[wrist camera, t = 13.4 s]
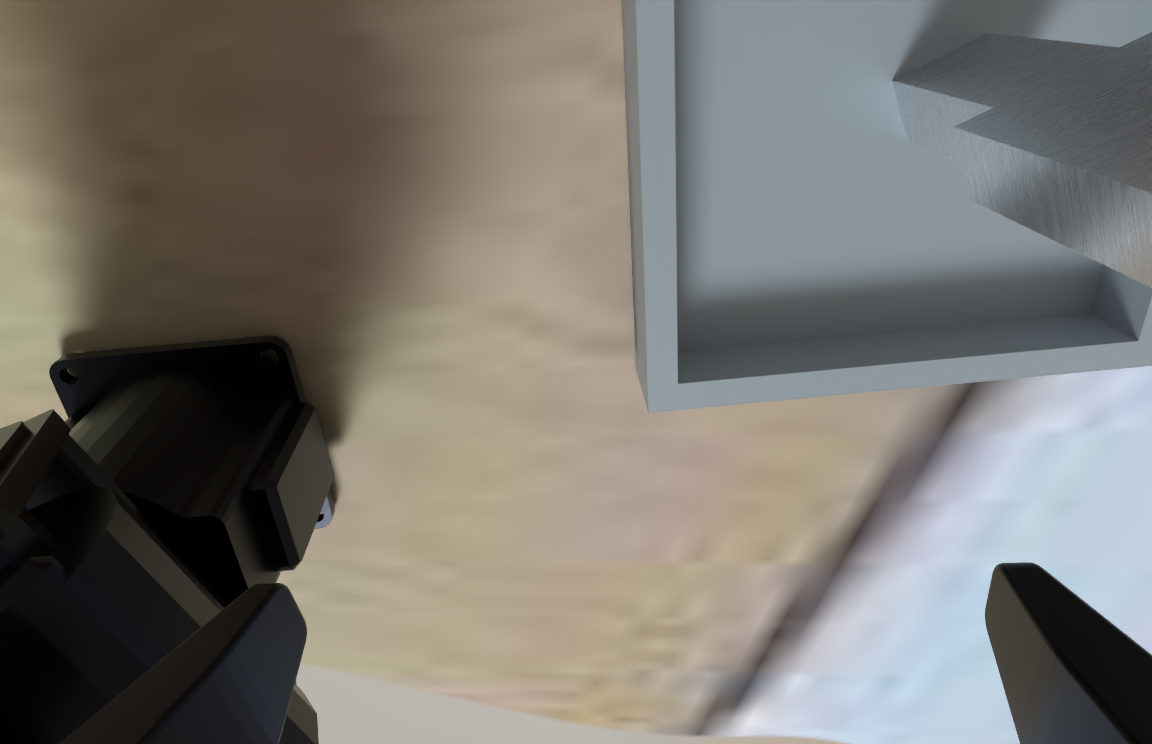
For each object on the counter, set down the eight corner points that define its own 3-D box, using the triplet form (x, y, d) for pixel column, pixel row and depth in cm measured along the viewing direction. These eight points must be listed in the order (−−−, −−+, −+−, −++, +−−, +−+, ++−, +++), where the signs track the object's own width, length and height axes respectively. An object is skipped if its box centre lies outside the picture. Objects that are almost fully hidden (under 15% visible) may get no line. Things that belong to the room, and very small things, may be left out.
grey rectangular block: (877, 154, 19) (1242, 332, 9) (860, 95, 18) (1236, 221, 9) (1032, 80, 19) (1593, 188, 9) (1020, 17, 18) (1615, 56, 8)
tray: (636, 370, 22) (648, 412, 20) (613, -216, 16) (628, -249, 14) (1096, 327, 23) (1158, 365, 20) (1259, -265, 16) (1376, -304, 14)
